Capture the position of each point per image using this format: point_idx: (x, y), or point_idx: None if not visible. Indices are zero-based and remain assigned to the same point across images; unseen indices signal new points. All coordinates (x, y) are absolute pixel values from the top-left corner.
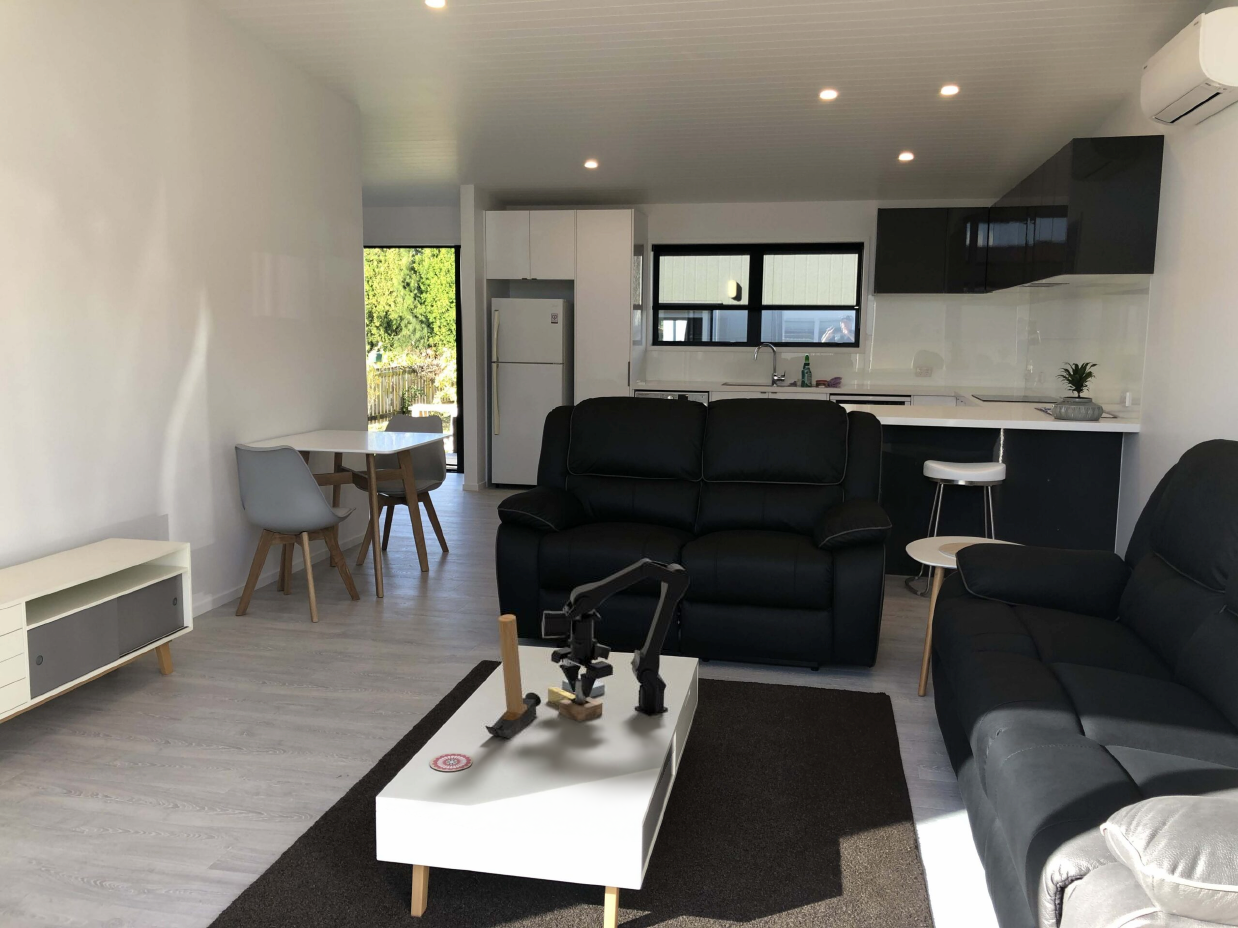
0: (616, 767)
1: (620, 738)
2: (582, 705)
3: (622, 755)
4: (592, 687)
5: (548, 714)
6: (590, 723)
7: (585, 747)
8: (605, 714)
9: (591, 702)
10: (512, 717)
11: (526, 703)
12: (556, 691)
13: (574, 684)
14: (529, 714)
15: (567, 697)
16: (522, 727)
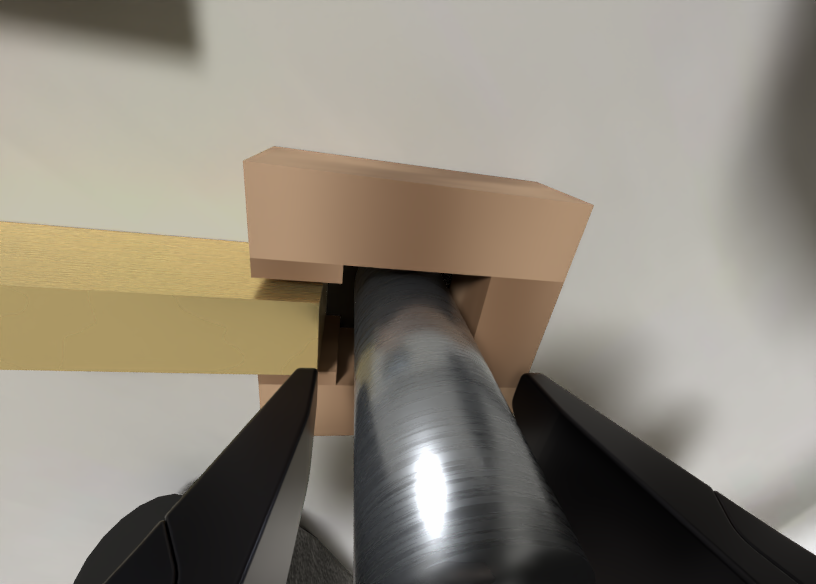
0: (788, 495)
1: (762, 361)
2: None
3: (797, 444)
4: (665, 460)
5: None
6: (549, 346)
7: None
8: (562, 170)
9: (494, 273)
10: None
11: None
12: (18, 363)
13: (298, 488)
14: (298, 576)
15: (248, 367)
16: (332, 561)
